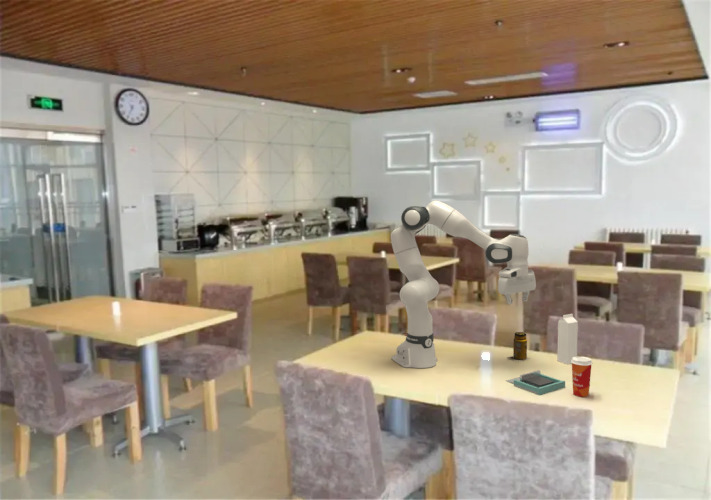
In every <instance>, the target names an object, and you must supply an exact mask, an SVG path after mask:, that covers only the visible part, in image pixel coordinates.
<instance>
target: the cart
mask: <svg viewBox="0 0 711 500" xmlns="http://www.w3.org/2000/svg"><path fill="white" fill-rule="evenodd" d="M541 374H542V373H541V370H540V369H537V370H534V371H530V372H527V373H522V374H520V375H519V377H520V381H521V382H525V383H528V384H531V385H534V386H536V387H543V386H546V385H550V384H553V383H554V381H551V380H548V379H545V378H542V377H540V375H541Z"/></svg>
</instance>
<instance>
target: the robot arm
mask: <svg viewBox="0 0 711 500" xmlns="http://www.w3.org/2000/svg"><path fill="white" fill-rule="evenodd" d="M402 211H403V212H402V213H401V217H400V218H401V225H400V226H399V227H397V228H395V229H394V230H392V232H391V233H390V242H391V247H392V251H393V253H394V257H395V259H396V262H397V266H398V269H399V271H400V272H401V273H402V274H403V275H404V276H405V277H406V278H407V280H408V282H406V283H405V284H404V285H403V286H402V287H401V289H400V291H399V299H400V301H401V303H402V304H403V305H404V307H405V311H406V314H407V332H405V333H404V336H405V340H404V341H403V342H402V343H400V344H399V345H398V346H397V347H396V354H394V355H392V356H391V360H392V361H394V362H395V363H397V364H399V365H400V366H401V367H403V368H416V369H426V368H427V369H428V368H432V367H435V366H436V365H437V361H438V358H437V357H436V356H437V355H436V347H435V343H434V340H435V339H434V333H433V315H432V314H431V313H430V311H429V307H428V302H430V301H432V300H434V299H435V298H436V297H437V296H438V294H439V292H440V284H439V281H437V280H436V279H435V278H434V277H433V276H432V275H431V273H430V272H429V270H428V269H427V267H426V265H425V263H424V260H423V259H422V256H421V252H420V250H419V247H418V243H417V240H416V235H417V234H418V233H420V232H421V231H422V230H424V228H425V227H426V226H427V225H432V226H435V227H436V228H438V229H439V230H441V231H442V232H443V233H445V234H447V235H449V236H452V237H454V238H464V239H467V240H469V241H471V242H473V243H474V244H475V245H477V246H479V247H480V248H482V249H483V250H484V251H485V257H486V259H487V261H488V262H490V263H491V264H495V265H499V264H504V263H506V265H507V266H506V267H504V268H503V269H501V270H499V271H498V276H499V278H498V283H497V291H498V293H499V294H500V295H503V296H504V297H505V299H506V304H508V305H511V304H512V305H513V299H512V298H511V297H512V295H513V294H518V293H519V294H520V293H524V294H523V296H522V298H521V299H522V302H528V297H529V296H530V292H531V291H534V290H536V288H537V282H536V275H535V272H534V270H533V269H529V261H528V257H529V240H528V238H527V237H525V236H524V235H522V234H518V233H510V234H509V235H507V236H506V237H504V238H495V237H492V236H490V235H489V234H487V233H485V232H484V231H482V230H481V229H479V228H478V227H476V226H475V225H474V224H473V222H472V223H471V221H469V219H468V218H467V217H466V216H464V214H462V213H461V212H459V211H458V210H456V208H454V207H452V206H451V205H449V204H447V203H444V202H442V201H441V200H432V201H431V202H429V203H428V204H427V205H426V207H425V206H419V205H418V206H417V205H411V206H409V207H406V208H405V209H404V210H402Z"/></svg>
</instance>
